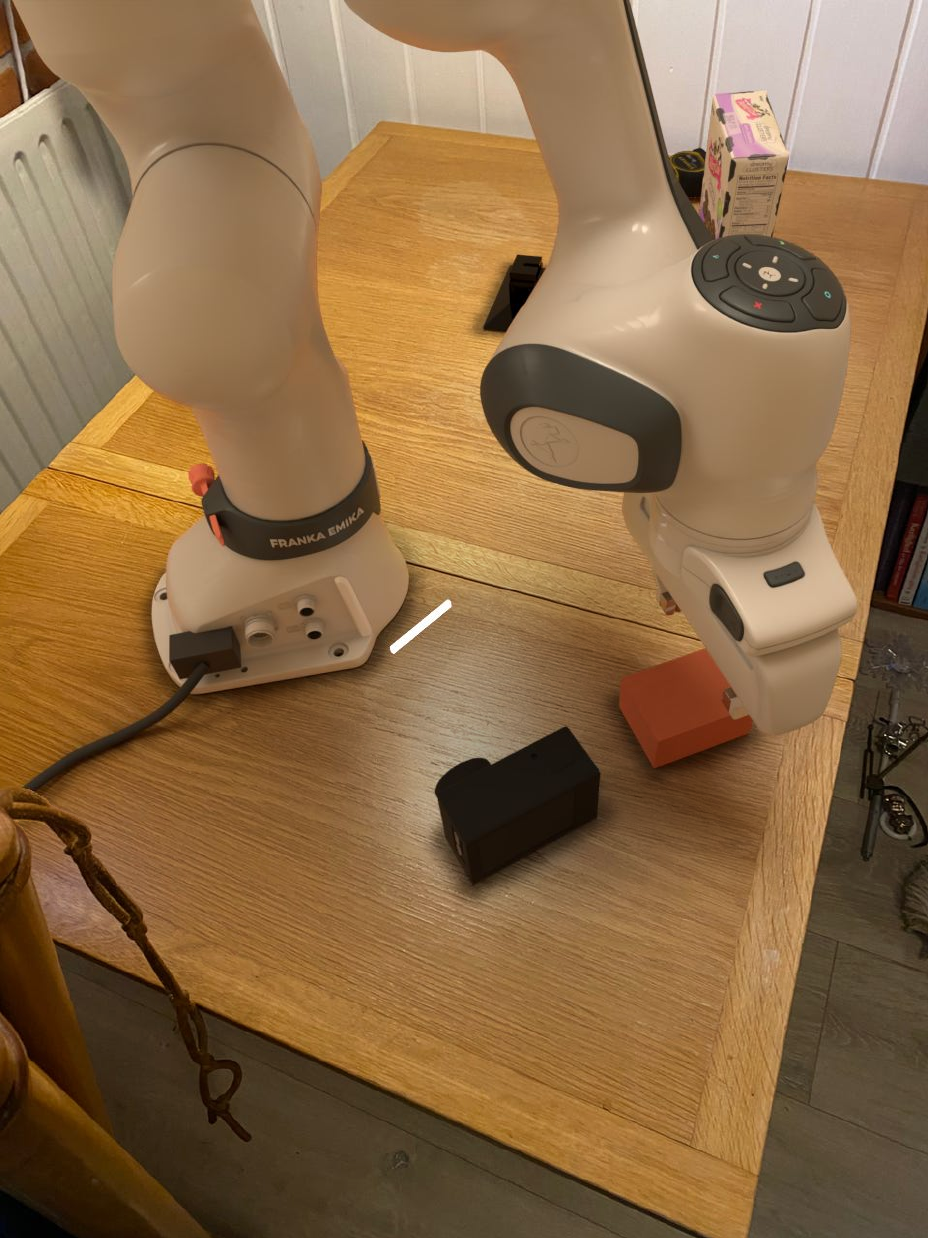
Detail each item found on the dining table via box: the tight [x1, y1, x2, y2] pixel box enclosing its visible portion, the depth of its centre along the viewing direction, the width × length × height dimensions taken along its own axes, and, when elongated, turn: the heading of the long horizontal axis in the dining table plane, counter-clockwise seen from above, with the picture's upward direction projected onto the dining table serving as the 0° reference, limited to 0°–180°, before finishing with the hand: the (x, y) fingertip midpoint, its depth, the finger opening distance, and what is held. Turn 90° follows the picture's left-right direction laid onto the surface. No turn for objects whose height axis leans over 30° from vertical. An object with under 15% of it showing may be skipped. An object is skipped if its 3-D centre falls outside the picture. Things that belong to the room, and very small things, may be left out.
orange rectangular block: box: [618, 647, 754, 770], centre depth 72 cm, size 8×6×4 cm
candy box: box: [698, 89, 790, 240], centre depth 103 cm, size 14×6×16 cm, turn 178°
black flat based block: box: [481, 254, 546, 334], centre depth 107 cm, size 12×7×5 cm, turn 164°
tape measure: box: [669, 147, 706, 199], centre depth 119 cm, size 7×7×4 cm
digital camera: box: [434, 725, 602, 886], centre depth 67 cm, size 10×5×7 cm, turn 118°
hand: (703, 655), depth 66 cm, fingers open, 8 cm apart
